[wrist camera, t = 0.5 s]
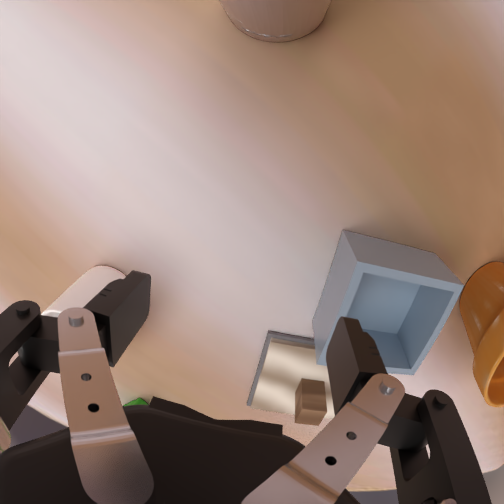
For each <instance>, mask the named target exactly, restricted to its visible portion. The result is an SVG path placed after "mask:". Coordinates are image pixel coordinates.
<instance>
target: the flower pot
mask: <svg viewBox="0 0 504 504" xmlns="http://www.w3.org/2000/svg"><path fill="white" fill-rule="evenodd" d="M460 312H461V316H462V319H463V322H464V325H465V328H466V331H467V334H468V337H469V340H470V343H471V347H472V350H473V353H474V356H475V357H474V361H473V374H474V377H475V380H476V382H477V384H478V387H479V389H480V391H481V393H482V395H483V397H484V399H485V401H486V403H487V404H488V405H490V406H492V407H504V263H502V262H491V263H488V264H486V265H485V266H483V267H481V268H480V269H478V270H477V271H476V272H475V273H474V274H473V275H472V277H471V278H470V279H469V281H468V282H467V284H466V285H465V287H464V289H463V292H462V294H461V298H460Z"/></svg>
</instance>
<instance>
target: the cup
mask: <svg viewBox="0 0 504 504" xmlns="http://www.w3.org/2000/svg"><path fill="white" fill-rule="evenodd" d="M125 277H126V276H125V275H124V274H123V273H122V272H120V271H118V270H117V269H115V268H112V267H109V266H96V267H93V268H91V269H89V270H88V271H86V272H85V273H84V274H83V275H82V276H81V277H80V278H78V279H77V280H76V281H75V282H74V283H73V284H72V285H71V286H70V287H69V288H68V289H67V290H66V291H65V292H63V293H62V294H61V295H60V296H59V297H58V298H57V299H56V300H55V301H54V302H53V303H52V304H51V305H50V306H49V307H48V308H47V309H46V310H45V311H44V312H43V313H42V314H41V315H44V316H52V317H58V316H59V314H60V313H61V312H62V311H64V310H66V309H68V308H74V307H79V308H83V307H84V306H85V305H86V304H87V303H88V302H89V301H90V300H91V299H92V298H94V297H95V296H96V295H97V294H98V293H99V292H100V291H101V290H102V289H104V287H105V286H106V285H108V284H109V283H110V282H112V281H114V280H117V279H119V278H120V279H124V278H125Z"/></svg>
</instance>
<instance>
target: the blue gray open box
mask: <svg viewBox="0 0 504 504" xmlns="http://www.w3.org/2000/svg"><path fill="white" fill-rule="evenodd" d="M463 287H464V285H463V284H462V283H461V281H460V280H459V279H458V278H457V277H456V276H455V275H454V273H453V272H452V271H451V270H450V269H449V268H448V267H447V266H446V265H445V264H444V262H443V261H442V260H441V259H440V258H439V257H438V256H437V255H436V254H435V253H432V252H428V251H425V250H421V249H417V248H413V247H410V246H406V245H402V244H398V243H394V242H390V241H386V240H382V239H378V238H374V237H370V236H366V235H362V234H358V233H354V232H350V231H345V230H342V233H341V237H340V240H339V243H338V246H337V250H336V253H335V256H334V259H333V262H332V265H331V268H330V272H329V275H328V278H327V281H326V284H325V287H324V289H323V292H322V295H321V298H320V301H319V304H318V307H317V310H316V312H315V315H314V318H313V321H312V322H313V332H314V343H315V354H316V365H323V366H327V363H326V352H327V348H328V345H329V342H330V340H331V337H332V335H333V332H334V330H335V327H336V324H337V322H338V320H339V318H340V317H341V316H343V317H349V318H354V319H358V320H359V322H360V325H361V327H362V330H363V332H367V333H368V334H369V335H370V336H371V337H372V338H373V339H374V340H375V343H376V345H377V349H378V350H379V353H380V356H381V358H382V360H383V363H384V365H385V368H386V370H387V373H393V374H405V375H414V374H415V372H416V371H417V369H418V368H419V366H420V365H421V363H422V361H423V360H424V358H425V357H426V355H427V353H428V352H429V350H430V349H431V347H432V345H433V344H434V342H435V340H436V338H437V337H438V335H439V333H440V331H441V330H442V328H443V326H444V324H445V322H446V321H447V319H448V317H449V315H450V313H451V311H452V309H453V307H454V305H455V303H456V301H457V299H458V297H459V295H460V293H461V291H462V289H463Z"/></svg>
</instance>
